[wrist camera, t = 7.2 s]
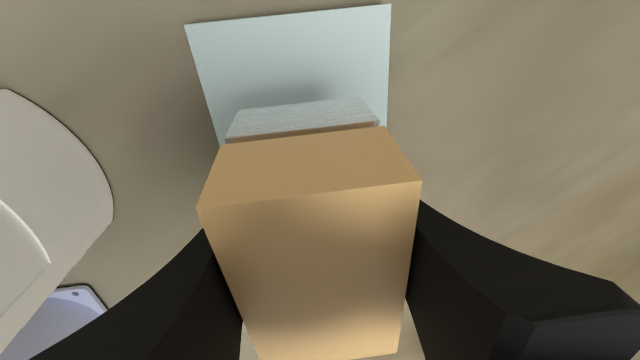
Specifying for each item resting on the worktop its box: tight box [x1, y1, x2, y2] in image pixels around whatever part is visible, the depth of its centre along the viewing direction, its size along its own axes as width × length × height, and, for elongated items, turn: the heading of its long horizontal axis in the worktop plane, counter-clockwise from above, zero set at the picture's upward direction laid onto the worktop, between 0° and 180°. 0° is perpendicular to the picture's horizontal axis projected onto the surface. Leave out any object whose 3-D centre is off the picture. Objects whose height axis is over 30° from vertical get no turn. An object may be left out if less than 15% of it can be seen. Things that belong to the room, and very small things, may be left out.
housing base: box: [224, 96, 380, 144], centre depth 12 cm, size 5×8×3 cm, turn 5°
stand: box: [184, 4, 391, 146], centre depth 18 cm, size 10×13×2 cm
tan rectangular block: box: [195, 126, 423, 360], centre depth 10 cm, size 5×8×3 cm, turn 5°
